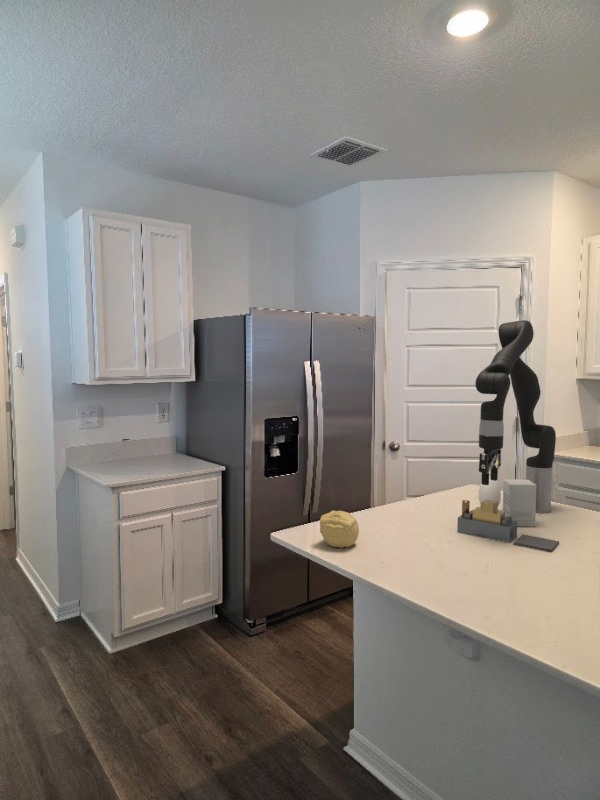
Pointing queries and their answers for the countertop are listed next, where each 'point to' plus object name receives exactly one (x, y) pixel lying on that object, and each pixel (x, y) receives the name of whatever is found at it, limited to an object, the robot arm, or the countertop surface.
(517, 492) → the supplement box
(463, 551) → the countertop surface
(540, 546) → the rubber mat
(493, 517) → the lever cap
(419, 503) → the countertop surface
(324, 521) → the pale yellow lumpy ball
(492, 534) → the grey block holder tray
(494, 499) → the white ovoid vessel
